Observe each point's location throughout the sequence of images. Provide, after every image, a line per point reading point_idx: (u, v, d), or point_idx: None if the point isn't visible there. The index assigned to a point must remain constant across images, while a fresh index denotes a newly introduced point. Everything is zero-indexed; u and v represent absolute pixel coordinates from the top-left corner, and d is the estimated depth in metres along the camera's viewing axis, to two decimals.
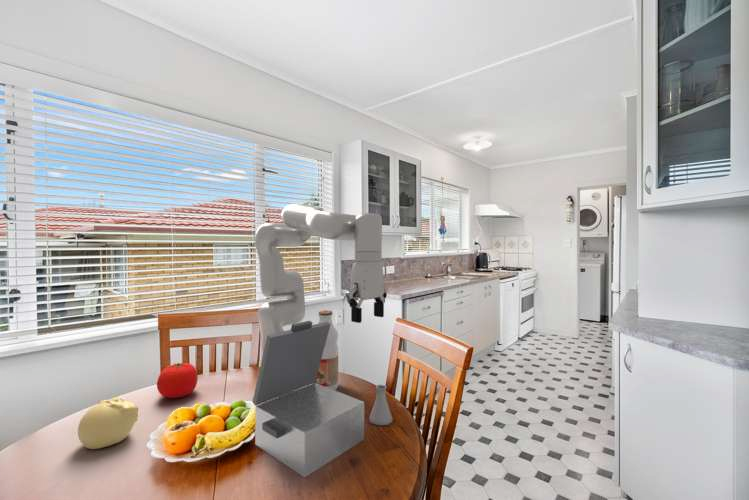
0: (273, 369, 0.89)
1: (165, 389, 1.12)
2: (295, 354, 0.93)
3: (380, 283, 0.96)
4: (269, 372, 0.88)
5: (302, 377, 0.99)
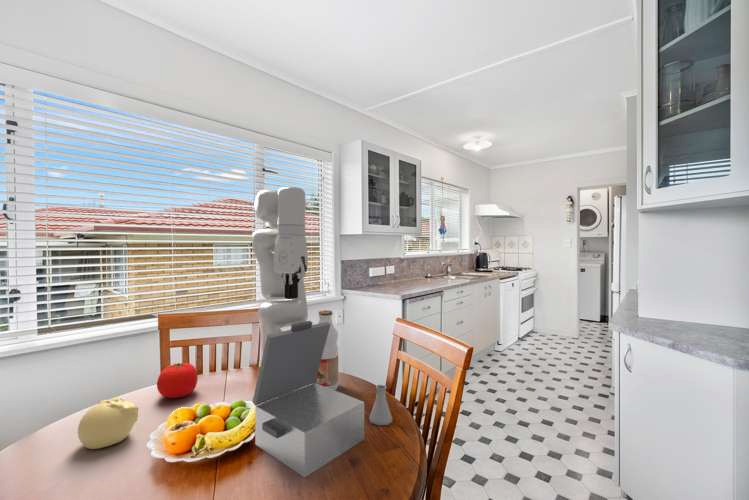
0: (273, 369, 0.89)
1: (165, 389, 1.12)
2: (295, 354, 0.93)
3: None
4: (269, 372, 0.88)
5: (302, 377, 0.99)
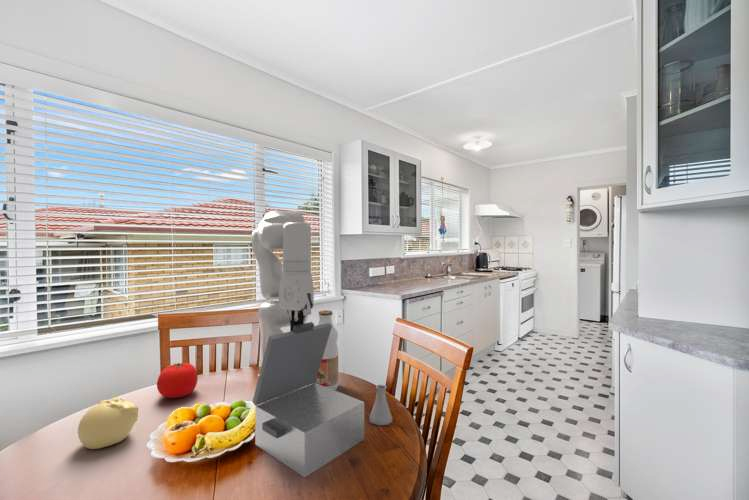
0: (274, 370, 0.89)
1: (165, 389, 1.12)
2: (296, 355, 0.93)
3: None
4: (270, 373, 0.88)
5: (302, 377, 0.99)
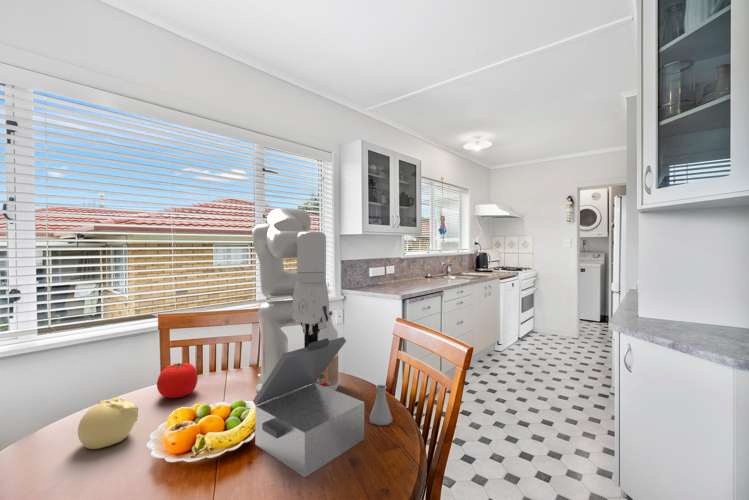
0: (280, 379, 0.87)
1: (165, 389, 1.12)
2: (305, 366, 0.91)
3: None
4: (276, 382, 0.86)
5: (305, 381, 0.98)
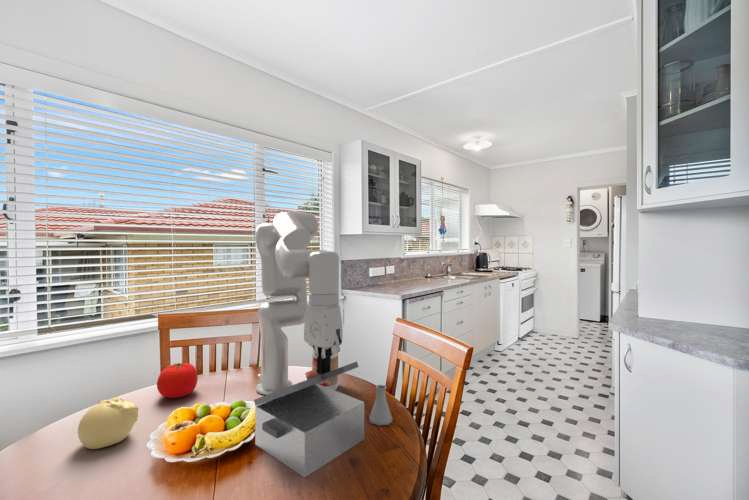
0: None
1: (165, 389, 1.12)
2: None
3: None
4: None
5: None
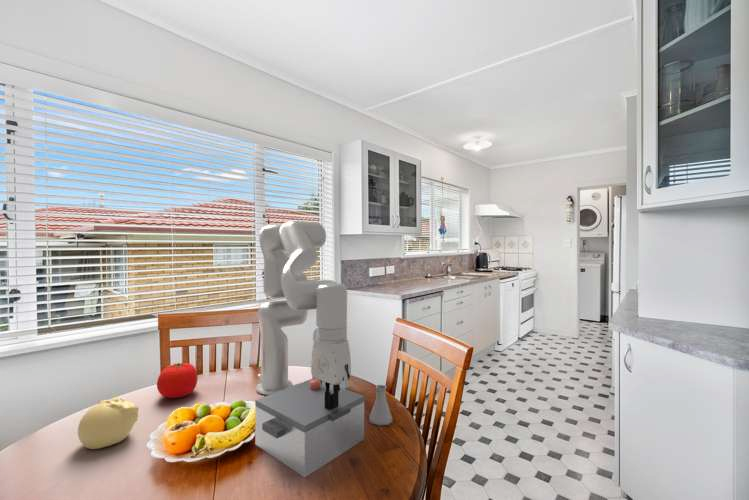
0: None
1: (165, 389, 1.12)
2: None
3: None
4: None
5: None
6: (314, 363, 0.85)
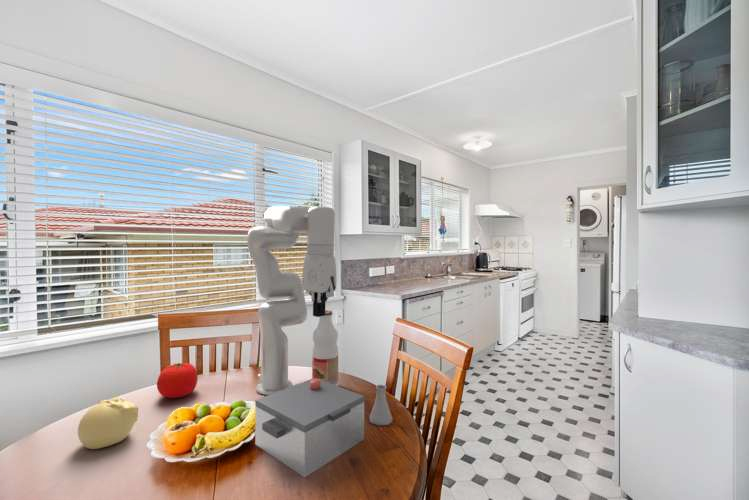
0: None
1: (165, 389, 1.12)
2: None
3: None
4: None
5: None
6: (304, 277, 0.97)
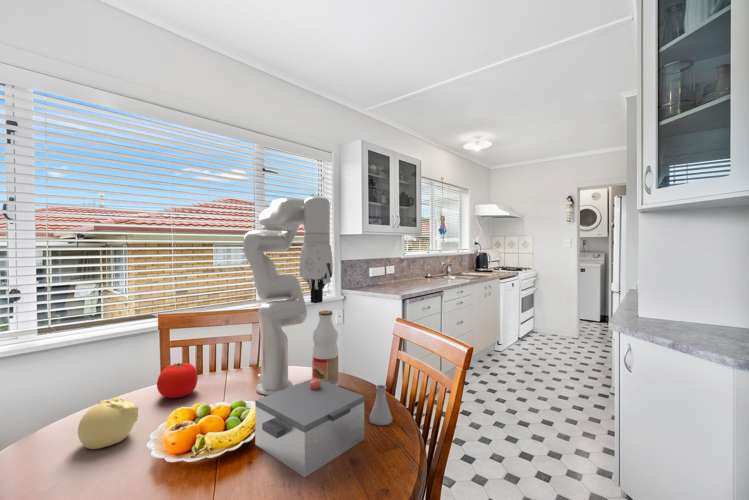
0: None
1: (165, 389, 1.12)
2: None
3: None
4: None
5: None
6: (302, 265, 1.01)
